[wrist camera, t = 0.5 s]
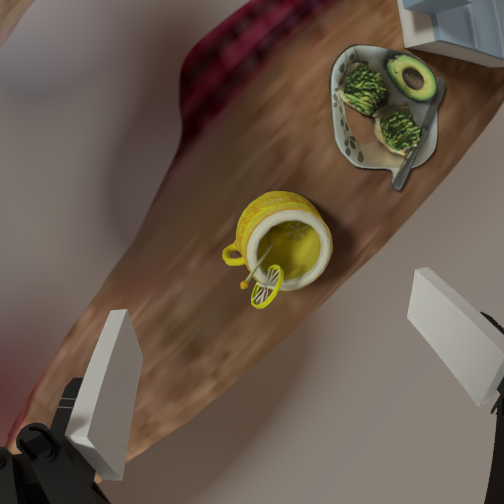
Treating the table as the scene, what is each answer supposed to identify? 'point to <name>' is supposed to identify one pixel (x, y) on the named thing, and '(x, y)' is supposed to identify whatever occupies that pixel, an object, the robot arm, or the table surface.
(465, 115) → the table surface
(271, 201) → the mug
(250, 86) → the table surface
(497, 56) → the light blue l-shaped piece
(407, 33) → the tub
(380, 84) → the salad plate
